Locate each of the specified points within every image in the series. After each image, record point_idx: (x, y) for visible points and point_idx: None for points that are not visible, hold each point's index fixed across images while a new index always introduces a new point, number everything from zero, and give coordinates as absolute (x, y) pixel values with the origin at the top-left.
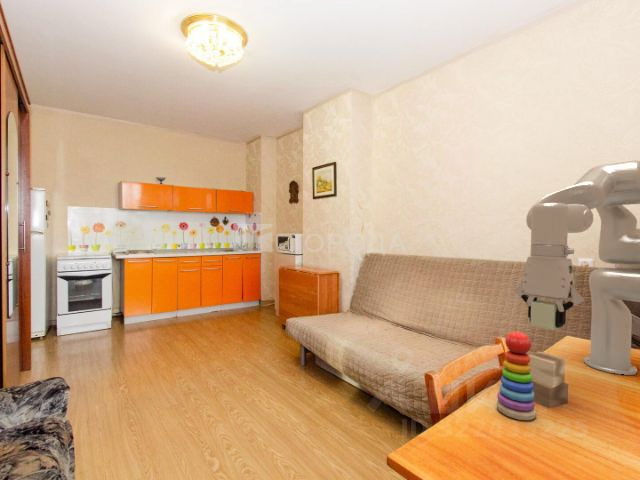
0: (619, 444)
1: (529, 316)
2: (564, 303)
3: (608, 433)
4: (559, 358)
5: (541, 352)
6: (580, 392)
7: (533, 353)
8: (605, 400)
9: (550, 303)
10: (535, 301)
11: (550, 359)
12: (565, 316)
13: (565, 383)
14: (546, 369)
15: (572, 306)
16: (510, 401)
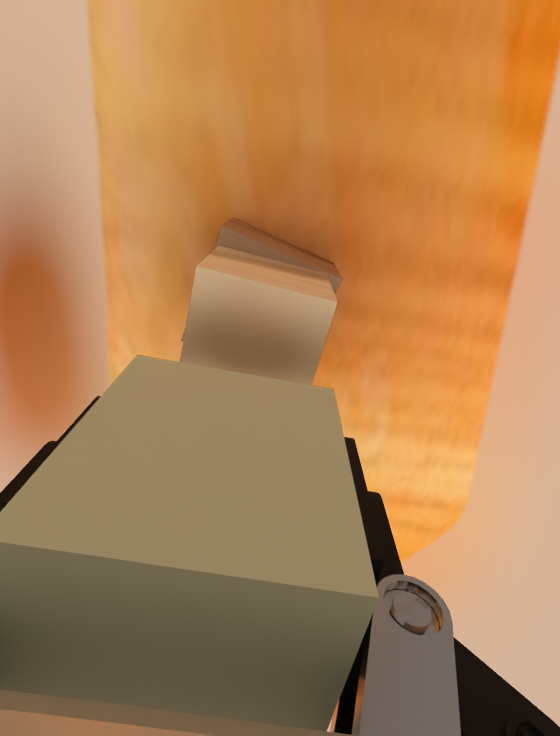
0: (454, 427)
1: None
2: (422, 710)
3: (436, 389)
4: (312, 322)
5: (214, 282)
6: (367, 87)
7: (188, 337)
8: (456, 102)
9: (229, 709)
10: None
11: (278, 374)
12: (392, 549)
13: (330, 279)
14: None
15: (521, 710)
16: None
